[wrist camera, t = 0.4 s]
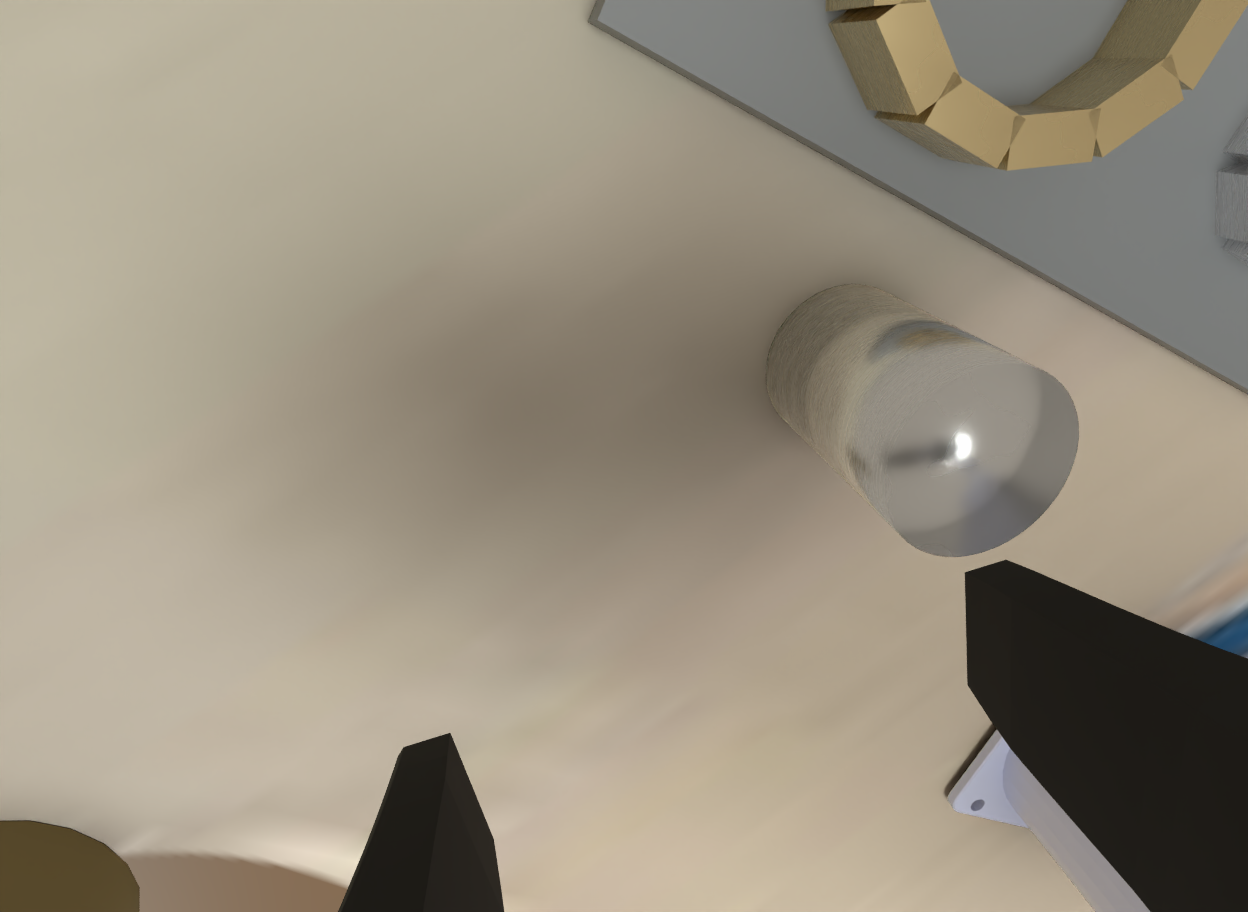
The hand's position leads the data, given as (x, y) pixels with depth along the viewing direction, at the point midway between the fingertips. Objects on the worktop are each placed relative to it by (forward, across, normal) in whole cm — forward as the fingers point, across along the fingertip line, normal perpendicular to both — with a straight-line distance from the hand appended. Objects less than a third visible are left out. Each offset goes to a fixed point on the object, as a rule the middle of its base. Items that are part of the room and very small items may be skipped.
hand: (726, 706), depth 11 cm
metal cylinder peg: (+10, -6, 0) cm, 12 cm away
